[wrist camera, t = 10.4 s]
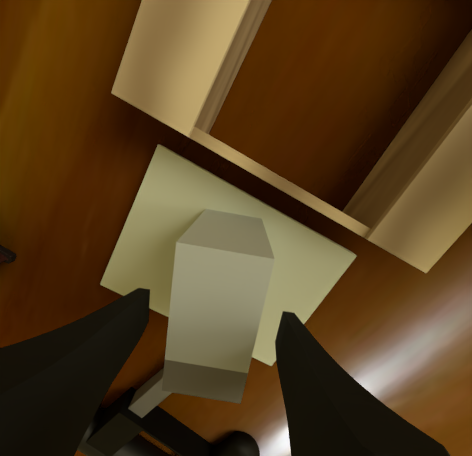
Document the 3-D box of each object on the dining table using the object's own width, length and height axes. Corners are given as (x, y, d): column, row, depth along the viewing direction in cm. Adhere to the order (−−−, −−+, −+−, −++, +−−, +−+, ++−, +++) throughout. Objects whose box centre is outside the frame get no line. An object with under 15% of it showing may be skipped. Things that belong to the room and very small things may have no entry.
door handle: (126, 321, 17) (14, 432, 19) (296, 453, 20) (181, 532, 23) (144, 298, 20) (45, 396, 23) (288, 415, 23) (188, 488, 26)
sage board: (351, 251, 17) (357, 255, 16) (270, 358, 20) (271, 366, 19) (162, 145, 15) (158, 144, 14) (105, 279, 18) (99, 284, 17)
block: (261, 218, 15) (275, 259, 9) (242, 312, 18) (240, 403, 11) (206, 208, 15) (176, 242, 9) (193, 304, 18) (161, 390, 11)
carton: (567, 13, 12) (729, -64, 8) (380, 246, 16) (426, 273, 12) (276, -216, 10) (298, -468, 6) (148, 113, 15) (111, 92, 10)
